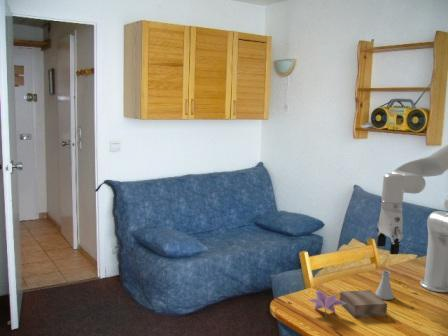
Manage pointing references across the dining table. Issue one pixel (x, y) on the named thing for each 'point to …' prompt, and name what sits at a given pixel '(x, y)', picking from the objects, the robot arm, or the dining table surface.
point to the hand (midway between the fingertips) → (387, 249)
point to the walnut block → (363, 304)
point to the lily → (326, 301)
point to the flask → (385, 287)
